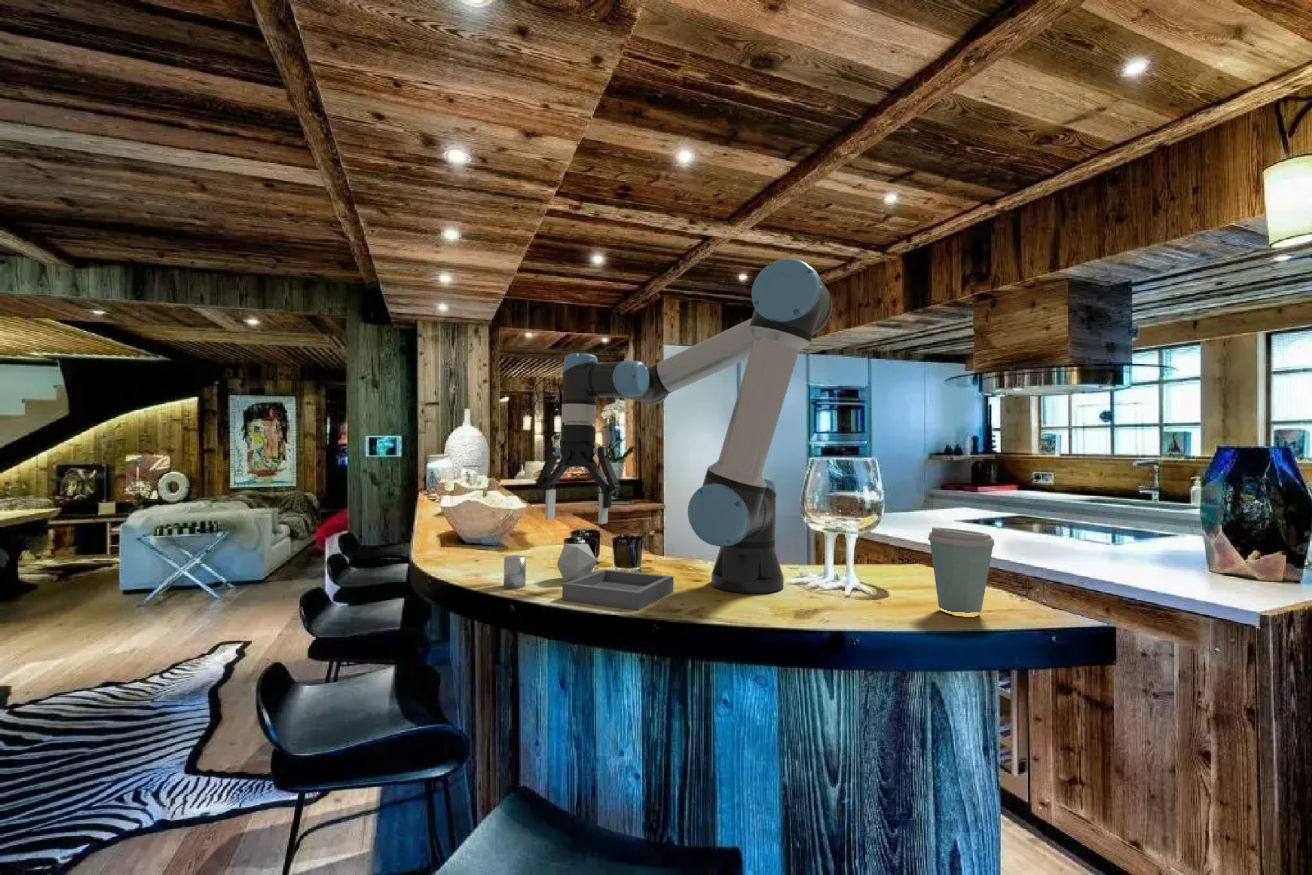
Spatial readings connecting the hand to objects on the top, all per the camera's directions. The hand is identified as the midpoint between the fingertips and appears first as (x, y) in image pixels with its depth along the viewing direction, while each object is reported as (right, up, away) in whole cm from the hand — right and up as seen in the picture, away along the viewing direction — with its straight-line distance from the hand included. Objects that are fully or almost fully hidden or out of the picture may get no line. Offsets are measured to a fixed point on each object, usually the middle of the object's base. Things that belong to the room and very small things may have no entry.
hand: (575, 521), depth 126 cm
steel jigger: (-12, -12, -7) cm, 19 cm away
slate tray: (+10, -12, -14) cm, 21 cm away
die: (0, -13, -1) cm, 13 cm away
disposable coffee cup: (+72, -13, -24) cm, 77 cm away
